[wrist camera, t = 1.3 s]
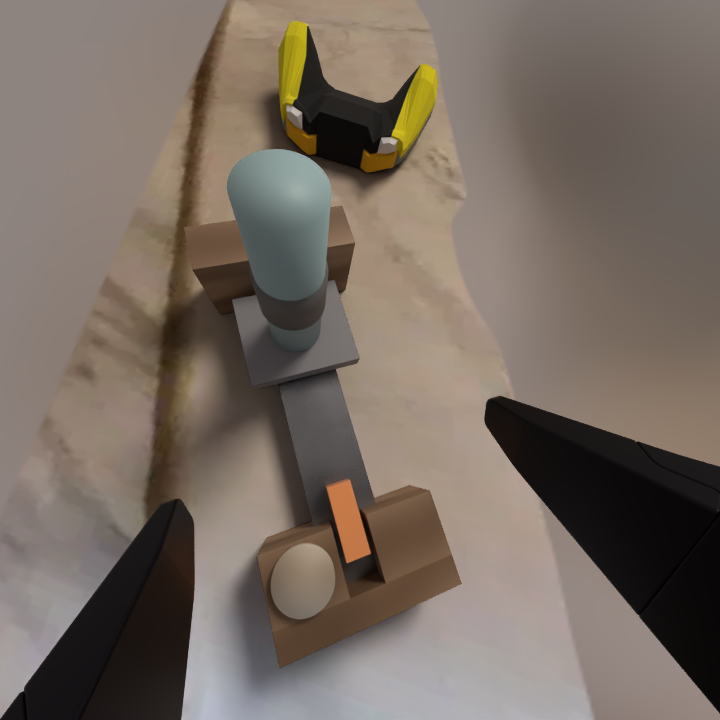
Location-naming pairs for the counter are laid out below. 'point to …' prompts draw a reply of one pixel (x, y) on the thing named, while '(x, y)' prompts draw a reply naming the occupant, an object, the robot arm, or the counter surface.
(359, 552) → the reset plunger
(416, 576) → the end cabinet
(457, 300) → the counter surface
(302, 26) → the gaming controller
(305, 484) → the track
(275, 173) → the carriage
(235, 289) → the end cabinet
